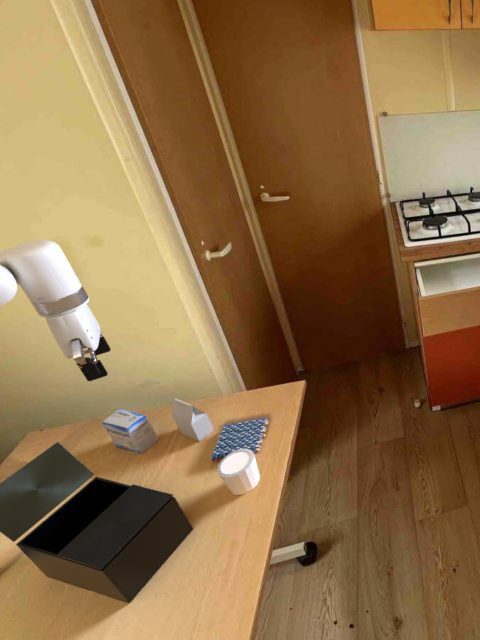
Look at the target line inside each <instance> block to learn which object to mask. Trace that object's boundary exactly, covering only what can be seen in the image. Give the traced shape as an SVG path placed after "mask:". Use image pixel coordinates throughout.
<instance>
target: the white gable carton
mask: <svg viewBox="0 0 480 640" xmlns="http://www.w3.org/2000/svg"><path fill="white" fill-rule="evenodd" d="M172 401H173V406H172V413H171V417H172V419H173V420H174V423H175V425H176V426H177V428H178V431H179V433H180V434H181V435H184V436H186V437H189V438H191V439H193V440H195V441H197V442H202V441H203V440H205V438H207V436H209V435H211V433H213V432H214V431H215V429H214V426H213V424H212V422H211V420H210V418H209V416H208V414H207V413H206V411H203V410H200V409H198V408H197V407H196V406H195V405H194V404H191V403H188V402H187V401H183V400H181V399H179V398H176V397H175V398H173V399H172Z"/></svg>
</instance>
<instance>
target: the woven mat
mask: <svg viewBox="0 0 480 640" xmlns="http://www.w3.org/2000/svg"><path fill="white" fill-rule="evenodd" d="M268 425H269V420H268V419H267V417H265V416H264V417H260V418H257V419H256V418H253V419H250V420H248V419H247V420H245V421H244V420H243V421H239V422H232V423H229V424H227V423H225V424H224V427H221V431H220V434H218V439H217V442H216V444H215V446H214V450H213V452H212V454H211V458H210V462H213V463H214V462H221V460H222V459H224V458H225V457H226V456H227V455H228V454H230V453H232V452H233V451H236V450H239V449H249V450H252V452H253V453H254V455H255V454H257V453H259V452H261V447H262V446H261V444H262V443H263V438H265V437H266V434H265V433H266V431H267V426H268Z"/></svg>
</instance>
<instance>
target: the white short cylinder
mask: <svg viewBox="0 0 480 640" xmlns="http://www.w3.org/2000/svg"><path fill="white" fill-rule="evenodd" d="M216 473H217V474H218V476H219V477H220V479H221V480H222V481H223V483H224V484H225V485H226V487H227V488H228V490H229V491H230V492H231V494H232V495H235V496H242V495H245V494H248V493H250V492H251V491H252V490H254V489H255V487H256V486H257V485H258V483H260V477H261V476H260V471H259V468H258V463H257V460H256V456H255V453H253V452H252V450H249V449H239V450H236V451H233V452H232V453H230V454H228V455H227V456H226V457H225V458H224V459H222V460H221V461H219V464H218V465H217V469H216Z"/></svg>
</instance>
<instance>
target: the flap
mask: <svg viewBox="0 0 480 640" xmlns="http://www.w3.org/2000/svg"><path fill="white" fill-rule="evenodd" d="M93 476H95V473H93V472H92V471H91V469H89V468H88V467H87V466H86V465H85V464H83V462H82V461H80V460H79V459H78V458H77V457H76V456H75V455H74V454H72V453H71V452H70V451H69V450H68V449H67V448H66V447H64V445H63V444H61V443H60V442H59V441H56V442H55V443H53V444H52V445H51V446H50V447H48V448H47V449H45V450H44V451H42V452H41V453H40V454H38V455H36V457H34V458H33V459H31V460H30V461H29V462H27V463H26V464H25V465H23V466H22V467H20V468H19V469H18V470H17V471H15V472H14V473H12V474H10V475H9V476H8V477H6V478H5V479H4V480H3V481H1V482H0V533H1V534H2V535H3V536H5V537H6V538H8V539H9V540H10V541H11V542H13V543H14V542H16V541H17V540H19V538H21V537H22V536H24V534H26V533H27V532H28V531H30V529H31V528H33V527H34V526H35V525H36V524H38V523H39V522H40V521H41V520H42V519H44V518H45V517H46V516H47V515H48V514H50V512H52V511H53V510H54V509H56V508H57V507H58V506H59V505H60V504H61V503H63V502H64V501H65V500H66V499H67V498H69V497H70V496H71V495H72V494H74V493H75V492H76V491H77V490H78V489H79V488H81V487H82V486H83V485H84V484H85V483H86V482H88V481H89V480H90V479H91V478H93Z"/></svg>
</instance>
